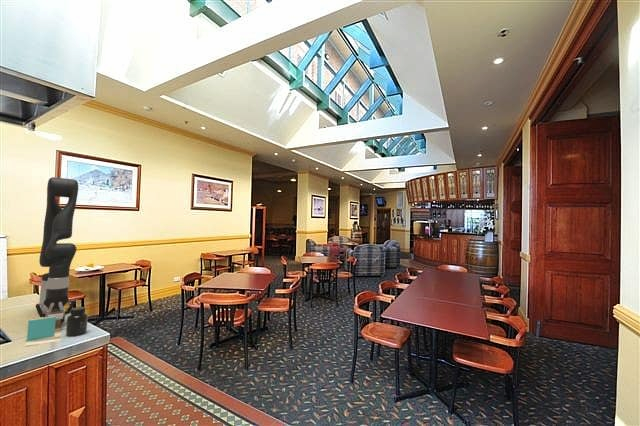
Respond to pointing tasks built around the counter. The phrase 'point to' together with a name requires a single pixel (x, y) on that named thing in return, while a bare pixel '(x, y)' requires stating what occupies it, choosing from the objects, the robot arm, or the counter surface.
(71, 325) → the supplement bottle
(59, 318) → the brown block
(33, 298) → the counter surface
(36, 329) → the tile
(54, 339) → the board
